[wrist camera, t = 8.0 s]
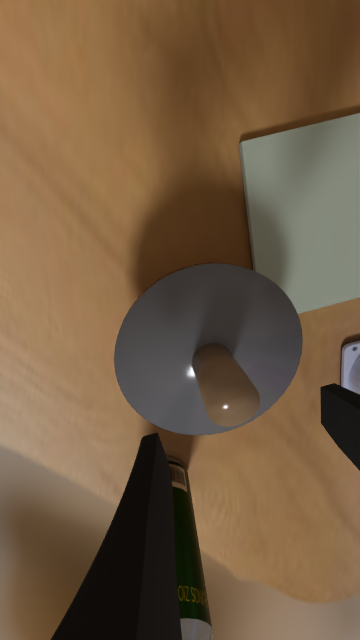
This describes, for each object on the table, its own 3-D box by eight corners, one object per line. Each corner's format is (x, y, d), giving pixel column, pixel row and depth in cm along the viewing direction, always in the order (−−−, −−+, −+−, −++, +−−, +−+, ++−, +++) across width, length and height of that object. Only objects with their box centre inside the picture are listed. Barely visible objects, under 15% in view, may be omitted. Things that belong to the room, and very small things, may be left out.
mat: (421, 100, 16) (430, 95, 15) (399, 283, 20) (405, 284, 20) (238, 144, 15) (241, 141, 15) (259, 321, 20) (261, 323, 19)
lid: (296, 245, 13) (369, 249, 9) (294, 406, 18) (343, 464, 13) (91, 284, 13) (58, 310, 8) (140, 441, 17) (136, 515, 12)
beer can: (145, 450, 23) (141, 648, 12) (194, 458, 24) (231, 645, 13) (131, 486, 25) (114, 693, 14) (177, 492, 26) (197, 686, 15)
